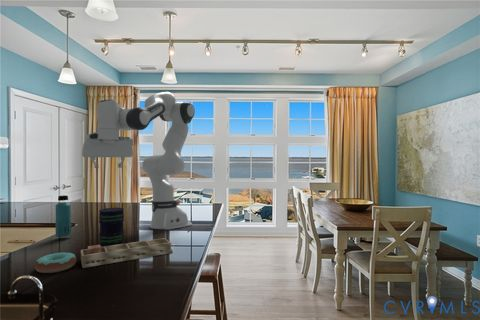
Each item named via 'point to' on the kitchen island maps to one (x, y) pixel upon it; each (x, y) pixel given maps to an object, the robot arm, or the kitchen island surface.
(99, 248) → the count cube
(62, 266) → the donut
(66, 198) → the beverage bottle
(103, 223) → the storage jar
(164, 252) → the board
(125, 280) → the kitchen island surface
